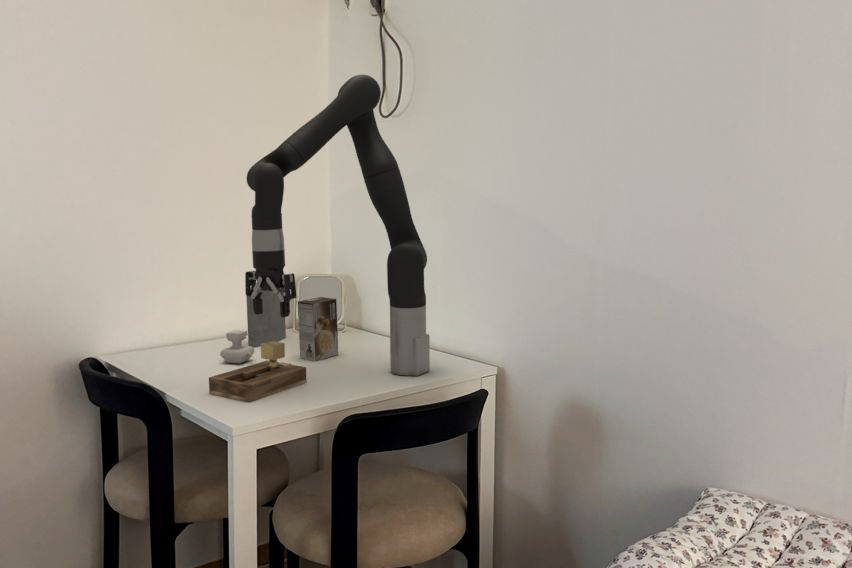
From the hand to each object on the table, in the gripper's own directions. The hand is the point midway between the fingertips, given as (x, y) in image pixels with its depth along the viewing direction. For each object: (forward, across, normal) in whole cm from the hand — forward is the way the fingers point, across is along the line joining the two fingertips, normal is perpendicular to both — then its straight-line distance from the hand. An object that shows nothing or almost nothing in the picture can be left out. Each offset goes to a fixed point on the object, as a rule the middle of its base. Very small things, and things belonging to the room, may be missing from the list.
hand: (271, 315), depth 183 cm
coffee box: (+17, +8, -26) cm, 32 cm away
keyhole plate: (+17, 0, +5) cm, 17 cm away
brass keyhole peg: (+16, 0, 0) cm, 16 cm away
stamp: (+17, +23, -10) cm, 31 cm away
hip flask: (+17, +33, -32) cm, 49 cm away
